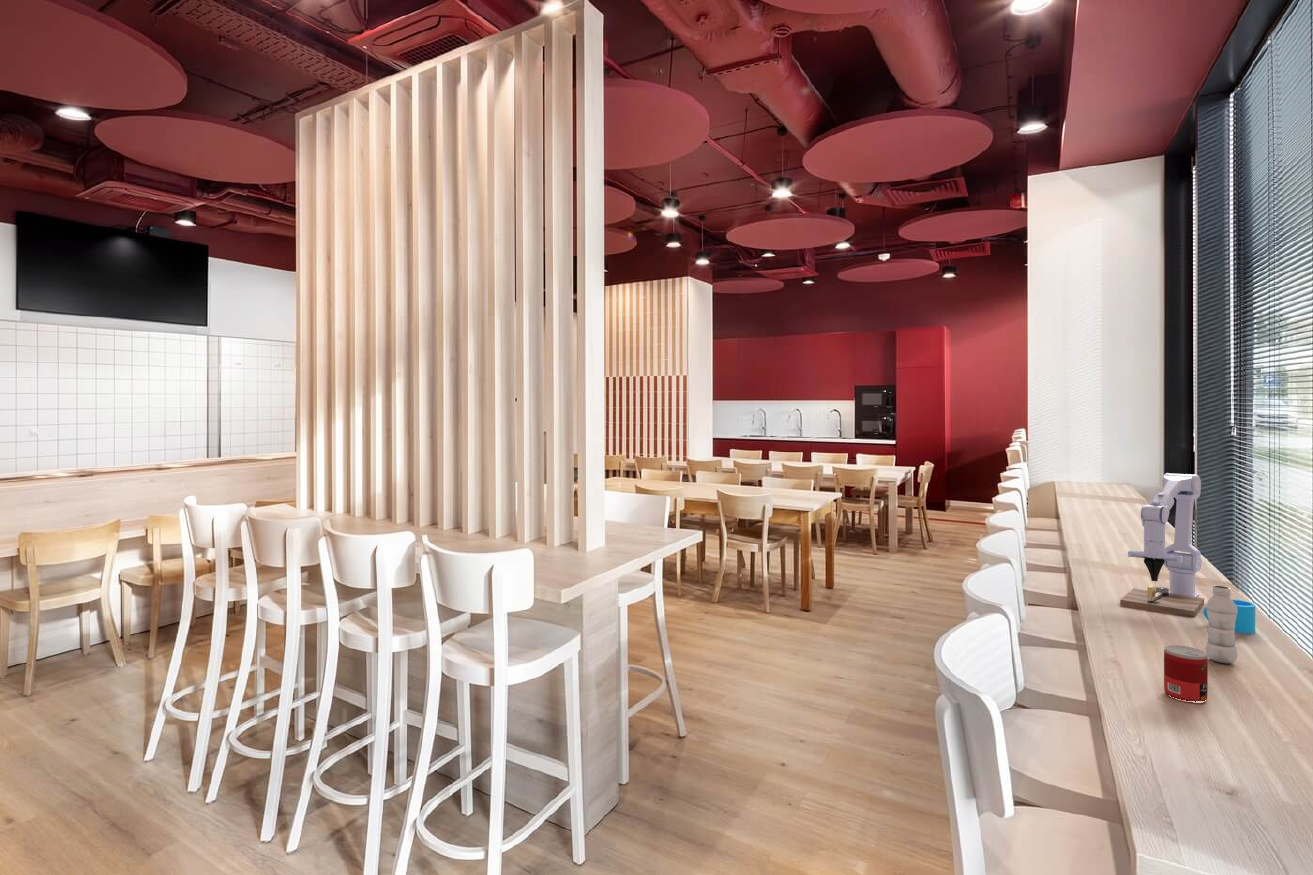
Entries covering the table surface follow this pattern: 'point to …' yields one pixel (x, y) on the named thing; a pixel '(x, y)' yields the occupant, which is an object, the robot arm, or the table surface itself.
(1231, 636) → the plastic bottle
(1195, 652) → the canned food
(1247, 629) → the mug
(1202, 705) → the table surface
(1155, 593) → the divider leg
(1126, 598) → the hole plate
